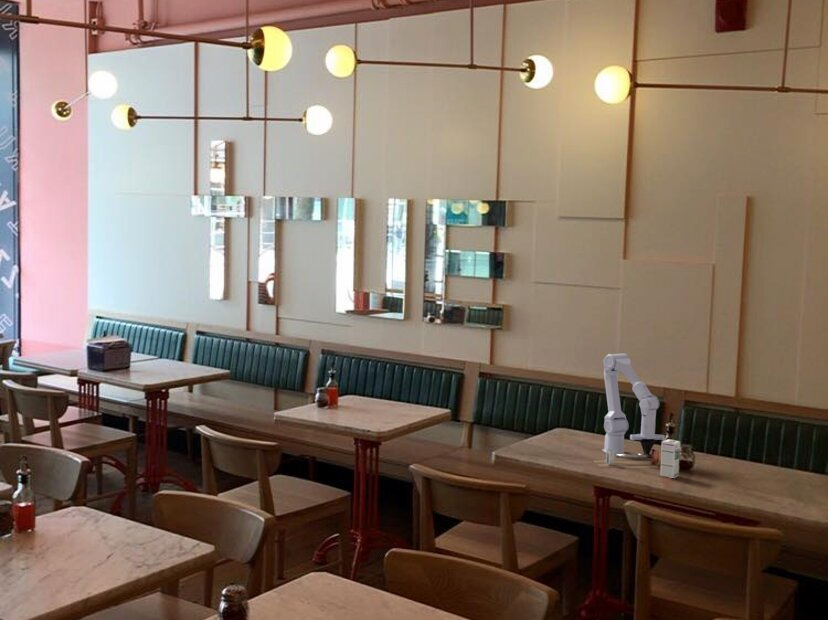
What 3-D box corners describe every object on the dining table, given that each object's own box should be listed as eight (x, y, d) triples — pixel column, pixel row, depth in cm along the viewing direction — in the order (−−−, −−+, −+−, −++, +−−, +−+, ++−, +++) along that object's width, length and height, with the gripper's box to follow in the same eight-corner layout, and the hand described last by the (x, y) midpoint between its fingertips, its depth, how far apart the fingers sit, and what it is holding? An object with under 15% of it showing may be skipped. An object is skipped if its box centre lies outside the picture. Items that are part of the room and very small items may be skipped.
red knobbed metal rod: (618, 465, 393) (619, 451, 392) (613, 461, 399) (614, 447, 398) (659, 465, 395) (660, 451, 395) (653, 461, 401) (654, 447, 401)
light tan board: (592, 461, 401) (592, 460, 401) (648, 461, 404) (648, 460, 404) (601, 469, 389) (601, 467, 389) (659, 468, 392) (659, 467, 392)
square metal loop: (603, 462, 398) (604, 448, 398) (610, 462, 399) (611, 448, 398) (608, 465, 392) (609, 452, 392) (615, 465, 393) (616, 452, 392)
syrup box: (673, 479, 377) (675, 443, 376) (659, 476, 381) (661, 441, 379) (678, 476, 382) (681, 441, 380) (664, 473, 385) (667, 438, 384)
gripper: (635, 427, 394) (633, 459, 395) (668, 427, 396) (666, 458, 397) (629, 423, 401) (627, 454, 402) (661, 423, 403) (659, 454, 404)
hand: (646, 456), depth 400 cm, fingers closed
